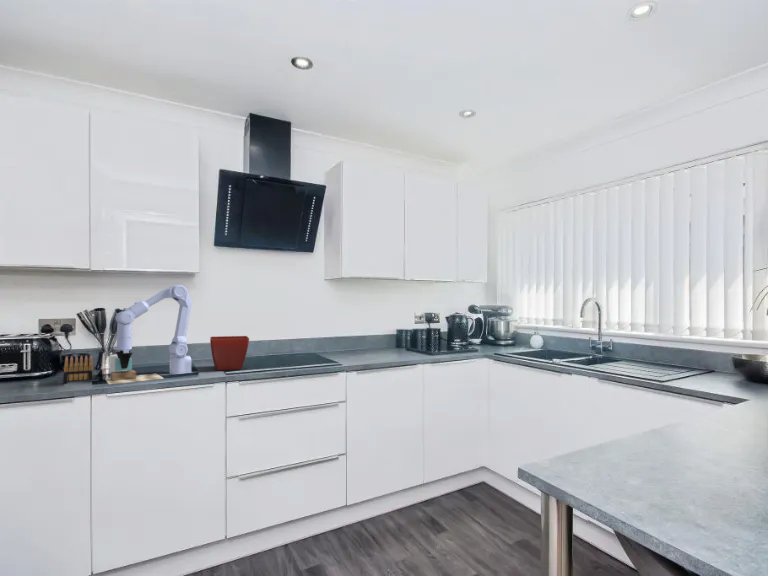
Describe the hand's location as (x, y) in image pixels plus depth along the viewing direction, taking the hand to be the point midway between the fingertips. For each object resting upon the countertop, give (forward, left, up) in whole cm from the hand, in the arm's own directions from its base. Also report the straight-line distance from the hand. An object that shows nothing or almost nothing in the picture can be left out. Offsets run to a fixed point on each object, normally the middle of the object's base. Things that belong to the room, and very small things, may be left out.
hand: (123, 367), depth 185 cm
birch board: (-4, +3, -6) cm, 8 cm away
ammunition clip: (+16, -9, -6) cm, 19 cm away
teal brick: (0, 0, -1) cm, 1 cm away
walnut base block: (0, 0, -5) cm, 5 cm away
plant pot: (-49, -5, -6) cm, 50 cm away
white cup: (0, -17, -6) cm, 18 cm away
